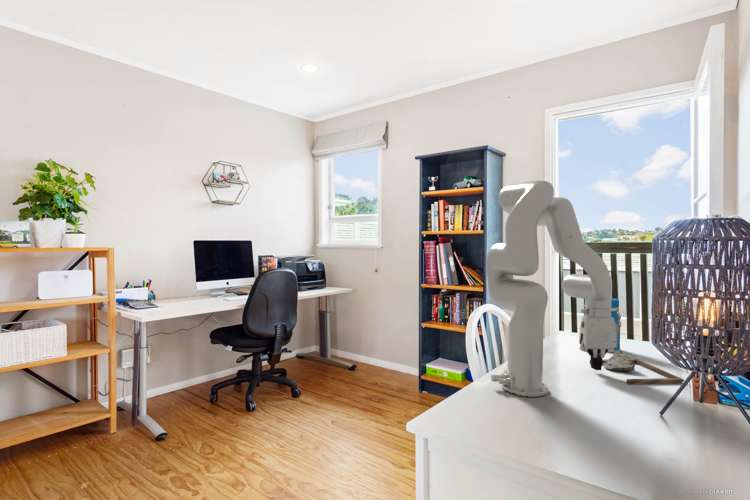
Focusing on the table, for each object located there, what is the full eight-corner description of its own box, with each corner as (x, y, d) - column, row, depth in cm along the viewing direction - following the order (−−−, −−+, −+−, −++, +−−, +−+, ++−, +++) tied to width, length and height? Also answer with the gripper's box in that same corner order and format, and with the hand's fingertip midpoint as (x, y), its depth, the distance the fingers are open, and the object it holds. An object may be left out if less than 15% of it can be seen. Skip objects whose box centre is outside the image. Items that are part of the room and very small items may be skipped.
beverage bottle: (605, 353, 154) (606, 300, 154) (590, 347, 163) (591, 297, 162) (625, 352, 155) (627, 300, 155) (610, 346, 164) (611, 297, 163)
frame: (629, 384, 122) (629, 380, 122) (589, 363, 142) (589, 359, 142) (683, 383, 123) (683, 379, 123) (636, 362, 143) (637, 359, 143)
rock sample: (592, 354, 140) (614, 339, 138) (601, 365, 143) (623, 351, 141) (610, 376, 131) (635, 360, 129) (620, 387, 134) (644, 372, 132)
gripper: (581, 314, 127) (580, 373, 128) (627, 314, 128) (626, 372, 128) (568, 310, 134) (567, 365, 135) (612, 310, 135) (611, 365, 136)
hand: (596, 368), depth 132 cm, fingers closed
